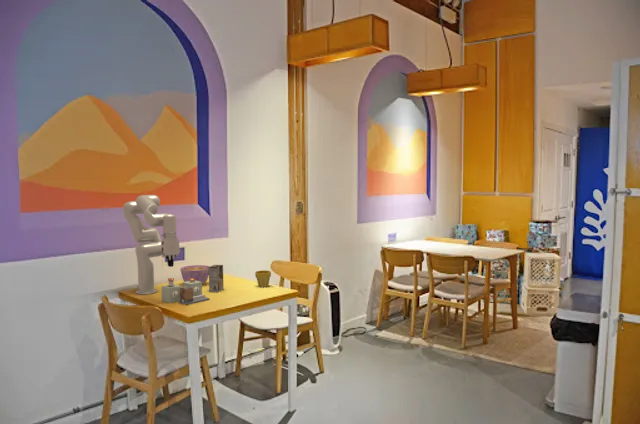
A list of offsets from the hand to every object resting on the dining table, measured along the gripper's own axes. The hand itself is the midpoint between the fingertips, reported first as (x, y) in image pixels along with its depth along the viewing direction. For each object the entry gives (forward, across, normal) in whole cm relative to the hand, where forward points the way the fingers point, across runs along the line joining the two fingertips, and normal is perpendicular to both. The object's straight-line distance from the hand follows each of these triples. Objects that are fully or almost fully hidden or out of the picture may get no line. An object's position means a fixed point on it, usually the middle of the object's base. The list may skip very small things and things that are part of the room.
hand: (170, 266), depth 308 cm
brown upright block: (+20, +3, -11) cm, 23 cm away
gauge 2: (+17, +15, 0) cm, 23 cm away
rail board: (+21, +8, -11) cm, 25 cm away
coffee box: (+21, +34, +1) cm, 40 cm away
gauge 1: (+14, 0, 0) cm, 14 cm away
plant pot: (+21, +62, -13) cm, 67 cm away
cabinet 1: (+21, 0, 0) cm, 21 cm away
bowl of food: (+21, +36, +26) cm, 49 cm away
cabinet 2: (+21, +15, 0) cm, 26 cm away
